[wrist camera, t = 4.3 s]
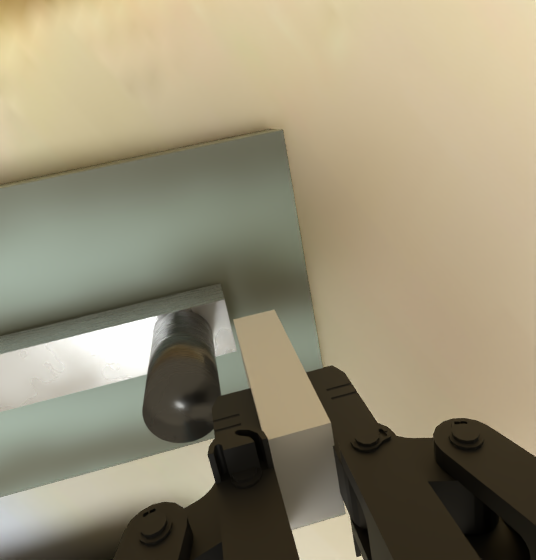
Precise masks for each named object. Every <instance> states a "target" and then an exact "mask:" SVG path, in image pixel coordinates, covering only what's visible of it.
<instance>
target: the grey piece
mask: <svg viewBox="0 0 536 560" xmlns="http://www.w3.org/2000/svg"><path fill="white" fill-rule="evenodd" d="M236 351H237V349H236V345H235V341H234V337H233V333H232V329H231V325H230V320H229V316H228V312H227V308H226V304H225V300H224V296H223V292H222V287H221V283H220V284H216V285H212V286H207V287H203V288H199V289H195V290H191V291H187V292H183V293H178V294H174V295H170V296H166V297H162V298H158V299H153V300H149V301H145V302H141V303H137V304H133V305H128V306H124V307H120V308H116V309H112V310H108V311H103V312H99V313H95V314H91V315H87V316H83V317H79V318H74V319H70V320H66V321H62V322H58V323H54V324H49V325H45V326H41V327H37V328H33V329H29V330H24V331H20V332H16V333H12V334H8V335H4V336H0V412H2V411H6V410H10V409H14V408H18V407H22V406H26V405H30V404H33V403H37V402H41V401H45V400H49V399H53V398H57V397H61V396H65V395H68V394H72V393H76V392H80V391H84V390H88V389H92V388H96V387H100V386H103V385H107V384H111V383H115V382H119V381H123V380H127V379H131V378H134V377H138V376H142V375H146V374H147V379H146V386H145V393H144V400H143V407H142V415H143V420H144V422H145V425H146V426H147V428H148V429H149V430H150V431H151V432H152V433H153V434H154V435H155V436H157V437H158V438H160V439H162V440H165V441H168V442H172V443H188V442H193V441H196V440H198V439H201V438H203V437H204V436H206V435H207V434H209V433H210V432H211V431H212V430H213V429H214V426H213V416H212V407H213V405H214V403H215V401H216V399H217V397H218V396H221V390H220V383H219V376H218V369H217V362H216V356H220V355H224V354H228V353H232V352H236Z"/></svg>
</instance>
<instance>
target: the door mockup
mask: <svg viewBox="0 0 536 560" xmlns="http://www.w3.org/2000/svg"><path fill="white" fill-rule="evenodd" d="M220 283H221V287H222V292H223V296H224V300H225V304H226V308H227V312H228V316H229V320H230V325H231V329H232V333H233V337H234V341H235V345H236V349H237V351H236V352H232V353H228V354H224V355H220V356H216V362H217V369H218V376H219V383H220V390H221V396H222V395H225V394H229V393H233V392H237V391H241V390H245V389H248V388H249V386H248V382H247V377H246V373H245V369H244V364H243V360H242V356H241V351H240V347H239V343H238V338H237V334H236V329H235V325H234V321H233V319H238V318H242V317H246V316H250V315H254V314H258V313H262V312H266V311H271V310H275V312H276V314H277V316H278V318H279V320H280V322H281V324H282V326H283V328H284V330H285V332H286V334H287V336H288V338H289V340H290V342H291V344H292V346H293V348H294V350H295V352H296V354H297V356H298V358H299V360H300V362H301V364H302V366H303V368H304V370H305V372H309V371H313V370H317V369H321V368H323V366H322V360H321V354H320V348H319V342H318V336H317V330H316V324H315V318H314V312H313V306H312V300H311V294H310V288H309V283H308V277H307V271H306V265H305V259H304V253H303V247H302V241H301V235H300V229H299V223H298V217H297V211H296V205H295V199H294V193H293V187H292V181H291V175H290V169H289V163H288V157H287V151H286V145H285V139H284V134H283V130H275V129H269V130H264V131H259V132H254V133H249V134H245V135H240V136H235V137H230V138H225V139H220V140H215V141H211V142H206V143H201V144H196V145H191V146H186V147H182V148H177V149H172V150H167V151H162V152H157V153H153V154H148V155H143V156H138V157H133V158H128V159H123V160H119V161H114V162H109V163H104V164H99V165H94V166H90V167H85V168H80V169H75V170H70V171H65V172H61V173H56V174H51V175H46V176H41V177H36V178H31V179H27V180H22V181H17V182H12V183H7V184H2V185H0V336H4V335H8V334H12V333H16V332H20V331H24V330H29V329H33V328H37V327H41V326H45V325H49V324H54V323H58V322H62V321H66V320H70V319H74V318H79V317H83V316H87V315H91V314H95V313H99V312H103V311H108V310H112V309H116V308H120V307H124V306H128V305H133V304H137V303H141V302H145V301H149V300H153V299H158V298H162V297H166V296H170V295H174V294H178V293H183V292H187V291H191V290H195V289H199V288H203V287H207V286H212V285H216V284H220ZM146 379H147V374H146V375H142V376H138V377H134V378H131V379H127V380H123V381H119V382H115V383H111V384H107V385H103V386H100V387H96V388H92V389H88V390H84V391H80V392H76V393H72V394H68V395H65V396H61V397H57V398H53V399H49V400H45V401H41V402H37V403H33V404H30V405H26V406H22V407H18V408H14V409H10V410H6V411H2V412H0V497H3V496H7V495H10V494H14V493H18V492H21V491H25V490H28V489H32V488H36V487H39V486H43V485H47V484H50V483H54V482H57V481H61V480H65V479H68V478H72V477H76V476H79V475H83V474H86V473H90V472H94V471H97V470H101V469H104V468H108V467H112V466H115V465H119V464H123V463H126V462H130V461H133V460H137V459H141V458H144V457H148V456H152V455H155V454H159V453H162V452H166V451H170V450H173V449H177V448H180V447H184V446H188V445H191V444H195V443H199V442H202V441H206V440H209V439H213V438H215V435H214V429H213V430H212V431H211V432H210V433H209V434H207V435H206V436H204V437H203V438H201V439H198V440H196V441H193V442H188V443H172V442H168V441H165V440H162V439H160V438H158V437H157V436H155V435H154V434H153V433H152V432H151V431H150V430H149V429H148V428H147V426H146V425H145V422H144V420H143V415H142V407H143V400H144V393H145V386H146Z"/></svg>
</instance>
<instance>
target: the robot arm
mask: <svg viewBox="0 0 536 560" xmlns="http://www.w3.org/2000/svg"><path fill="white" fill-rule="evenodd" d="M233 321H234V325H235V329H236V334H237V338H238V343H239V347H240V351H241V356H242V360H243V364H244V369H245V373H246V377H247V382H248V386H249V388H248V389H245V390H241V391H237V392H233V393H229V394H225V395H222V396H218V397H217V399H216V401H215V403H214V405H213V407H212V416H213V426H214V435H215V439H214V440H213V442H212V443H211V444H210V446H209V450H208V457H209V461H210V464H211V468H212V471H213V475H214V478H215V484H214V485H213V487H212V488H211V490H210V491H209V492H208V493H207V494H206V495H205V496H204V497H202V498H201V499H199V500H198V501H196V502H195V503H193V504H191V505H190V506H188V507H186V508H184V509H183V507H181V506H179V505H177V504H176V503H170V502H162V503H158V504H154V505H151V506H149V507H148V508H146V509H144V510H142V511H140V512H139V513H138V514H137V515H136V516H135V517H134V518H133V519H132V520H131V521H130V523H129V524H128V526H127V528H126V529H125V531H124V533H123V536H122V538H121V541H120V543H119V546H118V548H117V551H116V553H115V556H114V558H113V560H299V556H298V553H297V549H296V545H295V542H294V538H293V534H292V531H291V530H293V529H297V528H300V527H304V526H307V525H310V524H314V523H317V522H320V521H324V520H327V519H330V518H334V517H337V516H341V515H344V514H345V508H344V503H345V505H346V508H347V510H348V512H349V515H350V519H351V525H352V532H353V538H354V545H355V551H356V556H357V557H359V556H361V554H362V556H363V559H364V560H536V457H535V456H534V455H532V454H531V453H529V452H527V451H526V450H524V449H523V448H521V447H520V446H518V445H517V444H515V443H514V442H512V441H511V440H509V439H508V438H506V437H504V436H503V435H501V434H500V433H498V432H497V431H495V430H494V429H492V428H491V427H489V426H487V425H485V424H483V423H481V422H479V421H476V420H471V419H466V418H457V419H450V420H447V421H444V422H442V423H441V424H440V425H438V426H437V427H436V429H435V432H434V434H433V438H404V437H399V436H396V435H395V433H394V432H392V431H391V430H390V429H389V428H388V427H386V426H384V425H381V424H379V423H377V421H376V420H375V418H374V417H373V415H372V414H371V412H370V411H369V409H368V408H367V406H366V405H365V403H364V402H363V400H362V399H361V397H360V396H359V394H358V393H357V391H356V389H355V388H354V386H353V385H352V384H351V382H350V380H349V379H348V377H347V376H346V374H345V373H344V372H343V371H341V370H339V369H337V368H336V367H334V366H328V367H324V368H321V369H317V370H313V371H309V372H305V370H304V368H303V366H302V364H301V362H300V360H299V358H298V356H297V354H296V352H295V350H294V348H293V346H292V344H291V342H290V340H289V338H288V336H287V334H286V332H285V330H284V328H283V326H282V324H281V322H280V320H279V318H278V316H277V314H276V312H275V310H271V311H266V312H262V313H258V314H254V315H250V316H246V317H242V318H238V319H233ZM343 501H344V502H343Z"/></svg>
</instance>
